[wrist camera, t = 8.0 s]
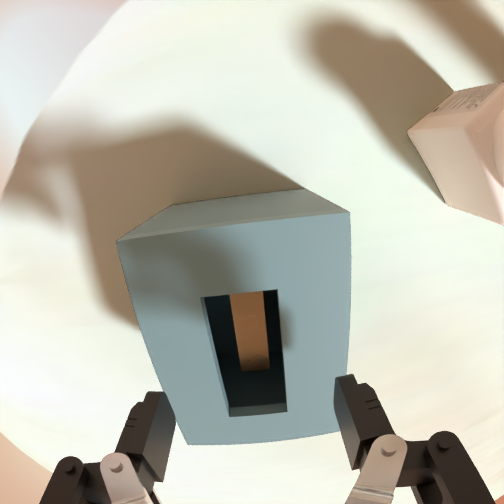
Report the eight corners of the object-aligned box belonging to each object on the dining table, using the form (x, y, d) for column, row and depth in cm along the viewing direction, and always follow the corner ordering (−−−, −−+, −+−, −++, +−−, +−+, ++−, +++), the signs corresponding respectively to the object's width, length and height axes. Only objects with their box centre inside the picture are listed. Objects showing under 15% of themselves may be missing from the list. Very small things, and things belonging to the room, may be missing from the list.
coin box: (305, 188, 21) (349, 212, 12) (313, 348, 25) (339, 431, 16) (170, 205, 21) (115, 240, 12) (203, 359, 25) (187, 444, 16)
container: (490, 161, 20) (595, 181, 8) (446, 207, 21) (559, 253, 9) (454, 90, 18) (565, 73, 6) (403, 131, 20) (529, 125, 7)
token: (258, 250, 22) (261, 283, 16) (265, 321, 23) (270, 369, 18) (233, 252, 22) (228, 286, 16) (242, 323, 23) (241, 371, 18)
